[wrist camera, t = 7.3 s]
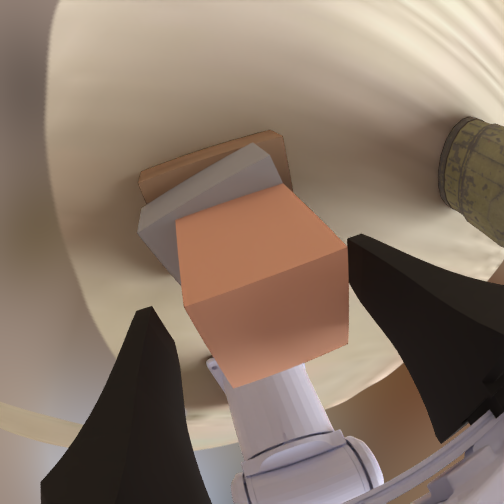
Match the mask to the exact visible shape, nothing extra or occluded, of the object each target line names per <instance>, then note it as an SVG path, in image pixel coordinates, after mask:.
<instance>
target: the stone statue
mask: <svg viewBox="0 0 504 504" xmlns="http://www.w3.org/2000/svg"><path fill="white" fill-rule="evenodd" d="M438 177H439V189H440V193H441V197H442V199H443V200H444V202H445V203H446V205H447V206H449V207H450V208H452V209H454V210H456V211H458V212H459V213H461V214H462V215H463V216H464V217H465V219H466V220H467V222H469V223H470V224H472V225H473V226H474V227H476V228H477V229H479V230H480V231H481V232H483V233H484V234H485V235H487V236H488V237H489V238H491V239H492V240H493V241H494V242H496V243H497V244H498V245H499V246H501V247H504V126H501V125H498V124H489V123H486V122H484V121H483V120H480V119H477V118H474V117H468V118H465V119H462V120H461V121H460V122H459V123H458V124H457V125H456V126H455V127H454V128H453V129H452V131H451V133H450V135H449V136H448V138H447V140H446V142H445V145H444V148H443V151H442V154H441V159H440V165H439V171H438Z"/></svg>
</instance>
